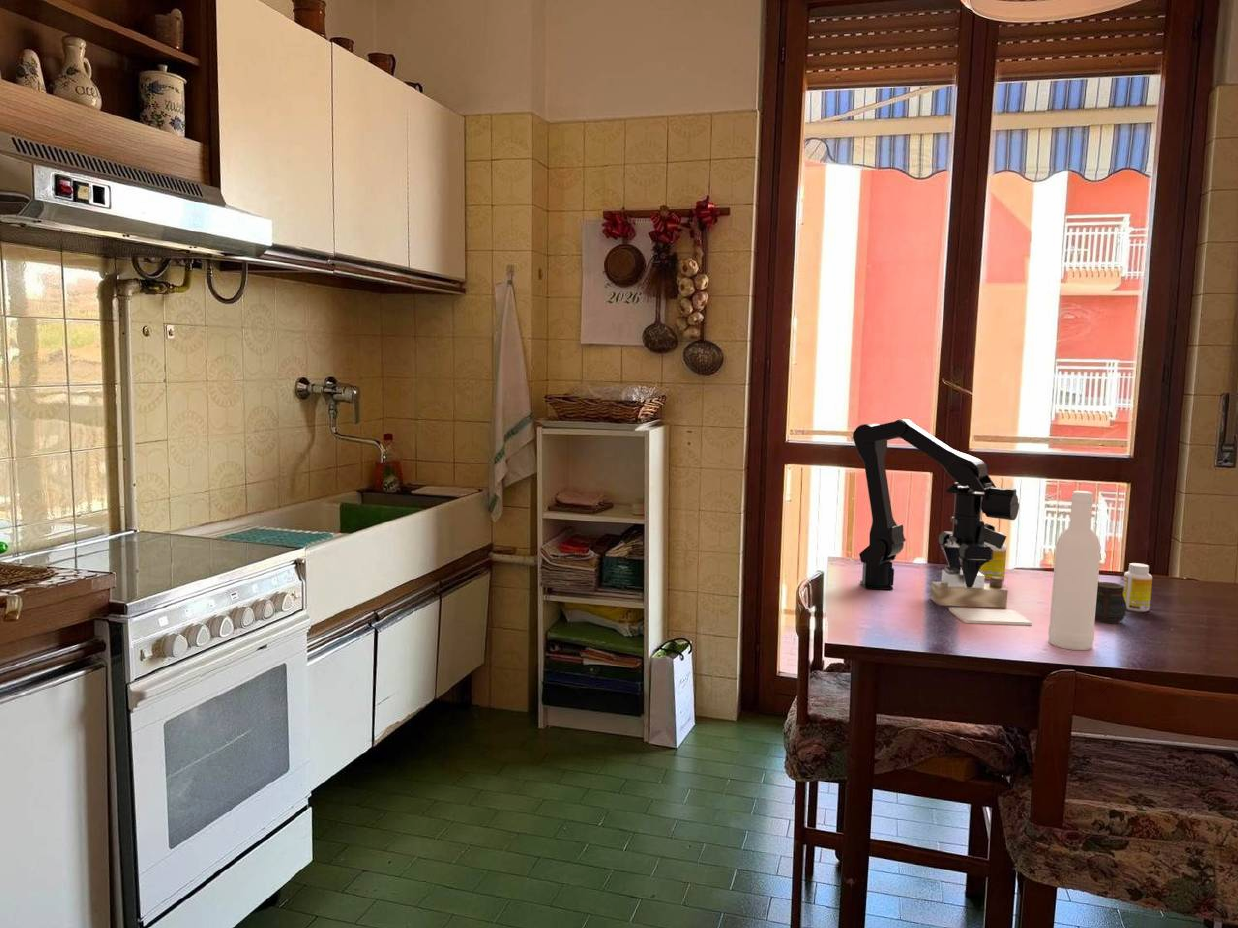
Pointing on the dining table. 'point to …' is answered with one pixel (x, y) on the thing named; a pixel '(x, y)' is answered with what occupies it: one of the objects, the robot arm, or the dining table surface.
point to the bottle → (1075, 579)
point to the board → (990, 616)
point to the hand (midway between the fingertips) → (962, 582)
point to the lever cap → (960, 579)
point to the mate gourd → (1110, 602)
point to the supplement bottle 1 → (994, 563)
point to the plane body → (971, 595)
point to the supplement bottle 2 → (1137, 587)
